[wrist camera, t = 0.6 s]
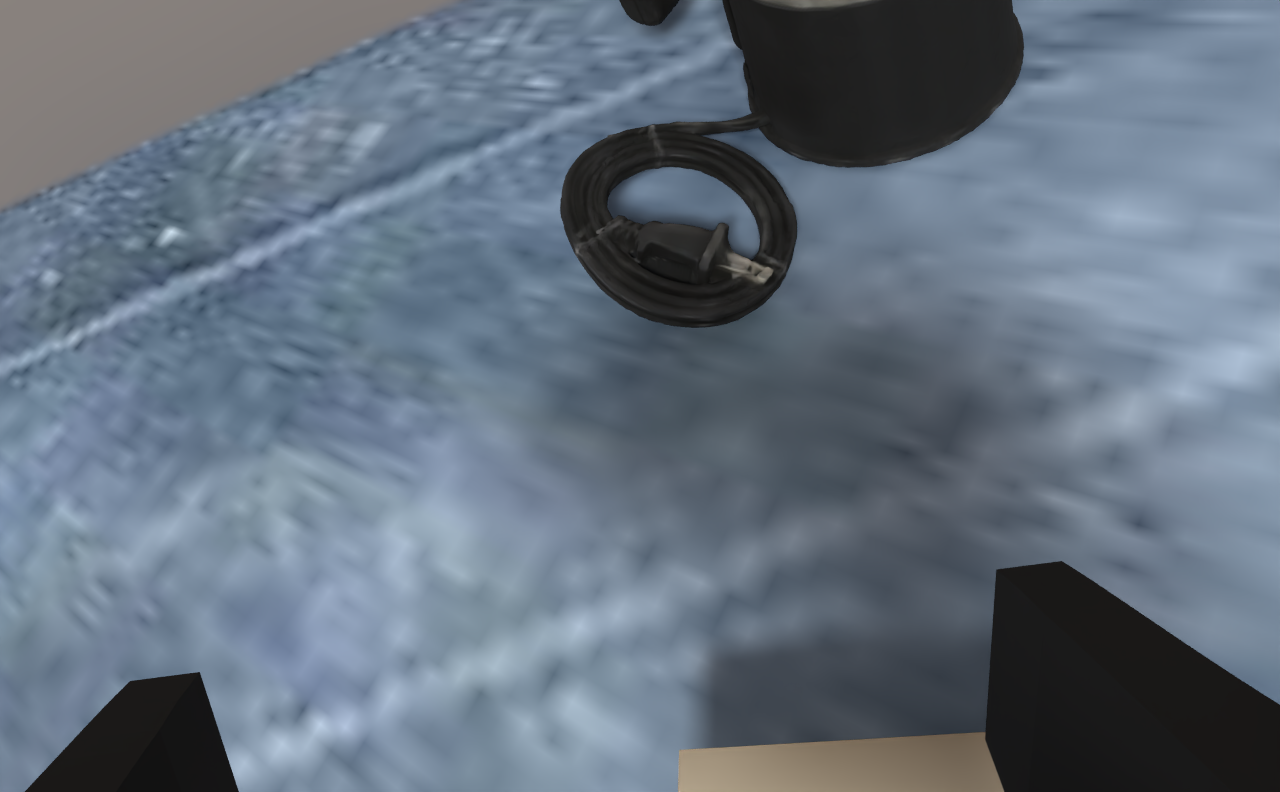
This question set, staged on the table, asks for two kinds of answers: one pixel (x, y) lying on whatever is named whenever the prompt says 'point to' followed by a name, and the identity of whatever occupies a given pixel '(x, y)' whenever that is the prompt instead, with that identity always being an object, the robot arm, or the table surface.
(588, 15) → the table surface
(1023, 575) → the robot arm
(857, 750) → the base block
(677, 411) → the table surface
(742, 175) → the milk frother
